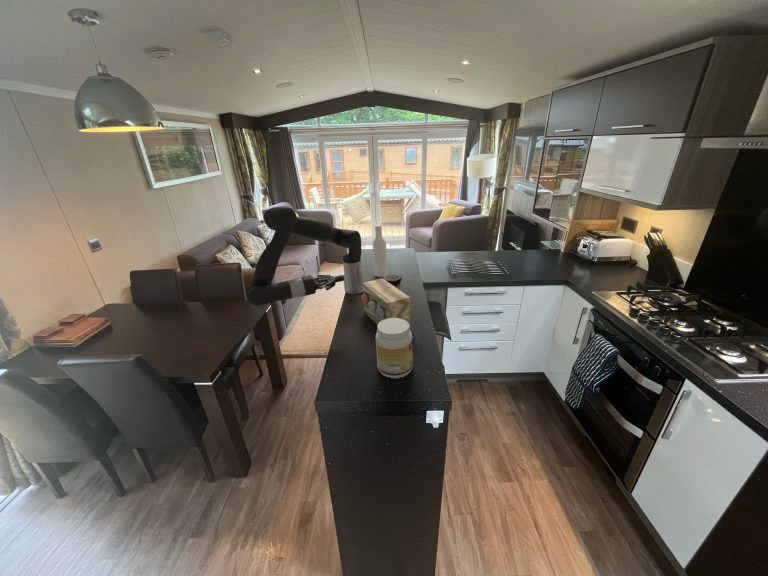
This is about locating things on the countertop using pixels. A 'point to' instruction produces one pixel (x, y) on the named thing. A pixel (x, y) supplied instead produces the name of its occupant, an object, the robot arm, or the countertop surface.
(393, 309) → the box
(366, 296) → the button terracotta
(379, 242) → the bottle
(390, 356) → the supplement tub
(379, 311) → the button slate
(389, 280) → the coffee mug
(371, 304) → the button sage
